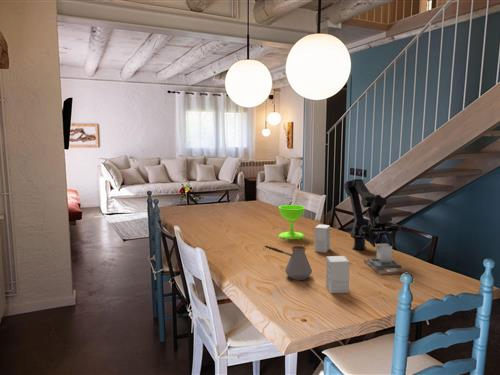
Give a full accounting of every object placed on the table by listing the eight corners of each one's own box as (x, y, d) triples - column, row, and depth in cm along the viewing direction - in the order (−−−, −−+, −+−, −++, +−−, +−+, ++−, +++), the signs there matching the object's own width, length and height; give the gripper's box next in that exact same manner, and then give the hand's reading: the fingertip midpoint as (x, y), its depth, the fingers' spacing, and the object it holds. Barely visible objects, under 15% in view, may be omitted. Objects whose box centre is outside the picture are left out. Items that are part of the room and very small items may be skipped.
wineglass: (304, 233, 243) (304, 205, 241) (305, 239, 227) (305, 209, 225) (278, 232, 245) (278, 204, 243) (278, 239, 229) (278, 209, 227)
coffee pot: (305, 271, 173) (306, 238, 172) (316, 280, 162) (316, 245, 161) (260, 275, 168) (259, 242, 166) (267, 285, 157) (267, 249, 155)
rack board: (363, 261, 186) (364, 257, 186) (389, 260, 187) (390, 256, 187) (379, 274, 168) (380, 270, 168) (408, 273, 169) (408, 268, 169)
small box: (318, 247, 211) (318, 224, 210) (329, 248, 209) (330, 225, 207) (314, 251, 204) (314, 227, 202) (326, 252, 201) (326, 228, 200)
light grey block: (376, 262, 181) (376, 243, 180) (386, 262, 182) (387, 243, 180) (380, 265, 176) (381, 246, 175) (391, 265, 177) (392, 246, 176)
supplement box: (343, 285, 156) (344, 255, 154) (349, 293, 148) (349, 261, 147) (325, 286, 156) (326, 255, 154) (330, 293, 148) (330, 261, 147)
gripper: (361, 209, 180) (370, 238, 171) (399, 208, 182) (410, 236, 172) (354, 221, 189) (362, 250, 179) (391, 220, 191) (401, 248, 181)
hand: (384, 246), depth 178 cm, fingers open, 9 cm apart
